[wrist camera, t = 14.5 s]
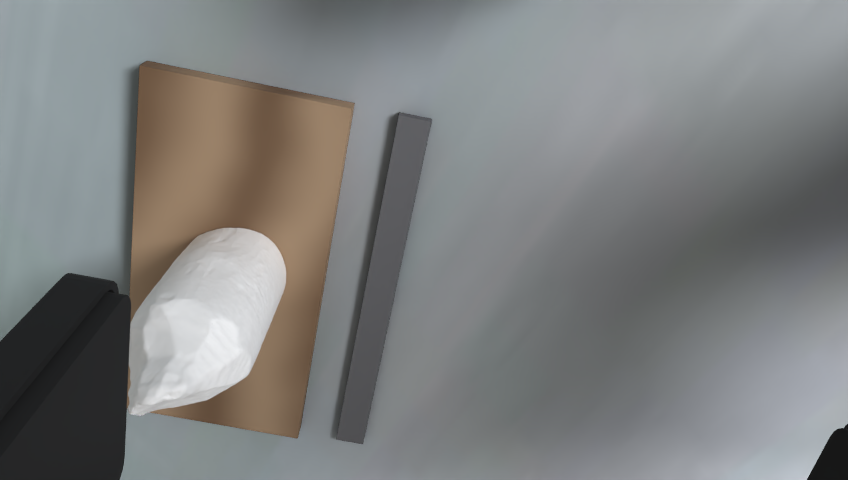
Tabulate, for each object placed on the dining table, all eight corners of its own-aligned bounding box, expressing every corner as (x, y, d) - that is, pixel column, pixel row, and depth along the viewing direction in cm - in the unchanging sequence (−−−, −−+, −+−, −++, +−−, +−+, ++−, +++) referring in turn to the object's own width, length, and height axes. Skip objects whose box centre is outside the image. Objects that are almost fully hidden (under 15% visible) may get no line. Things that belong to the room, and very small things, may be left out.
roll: (156, 499, 31) (44, 412, 29) (231, 338, 42) (153, 267, 40) (259, 424, 29) (147, 326, 28) (310, 276, 40) (233, 199, 38)
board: (354, 103, 37) (352, 108, 36) (300, 427, 46) (297, 438, 45) (147, 60, 37) (139, 65, 36) (131, 397, 45) (124, 407, 44)
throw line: (431, 118, 37) (431, 121, 37) (363, 438, 46) (362, 444, 45) (399, 112, 37) (398, 115, 37) (337, 433, 46) (336, 439, 45)
